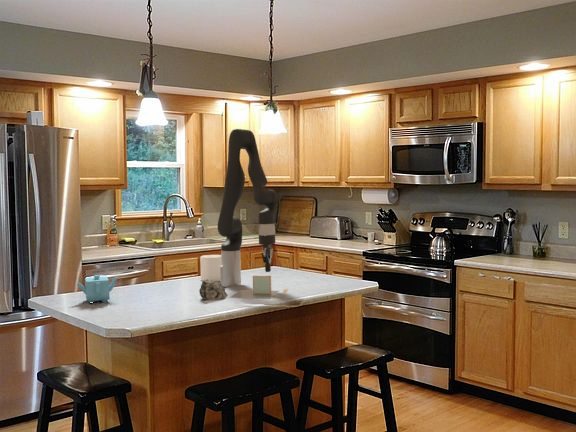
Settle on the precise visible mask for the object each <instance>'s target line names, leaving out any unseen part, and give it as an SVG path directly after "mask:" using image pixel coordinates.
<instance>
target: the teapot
mask: <svg viewBox="0 0 576 432" xmlns="http://www.w3.org/2000/svg"><path fill="white" fill-rule="evenodd" d="M119 278H120V276H115V277H113V278H112V279H111V283H110V280H109V278H108V277H107V276H101V275H99V274H95V275H93V277H85V278H84V285H85V286H84V285H83V284H82V283H80V282H76V286H77V287H78V288H79V289H80V290H81V291H82V292H83V293H84V295H85V299H86V301H87V302H88V303H89V302H94V303H95V301H96V302H98V301H101V303H103V302H105V303H108V301H109V300H110V299H111V297H110V292H112V291H113V289H114V287H115V283H116V281H117V280H118V279H119Z"/></svg>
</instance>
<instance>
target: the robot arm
mask: <svg viewBox="0 0 576 432" xmlns="http://www.w3.org/2000/svg"><path fill="white" fill-rule="evenodd" d="M241 150H245V152H246V153H247V156H248V164H247V174H248V177H249V179H250V181H251V184H252V193H253V199H254V202H255V203H256V204H257V205H258V206H265V207H264V209H263V210H261V211H259V212H258V244H259V245H260V246H261V245H262V252H261V257H262V262H263V263H264V267H265V268H264V270H265V273H270V272H271V271H272V268H271V263H272V261H273V255H274V254H273V253H274V249H273V247H272V245H275V244H276V227H275V213H276V207H277V203H278V194H277V193H276V191H275V190H274V189H263V188H264V187H265V186H267V185H268V178H267V176H266V174H265V171H264V169H263V166H262V163H261V160H260V154H259V150H258V146H257V140H256V136H255V135H254V132H253V131H251V130H249V129H242V128H234V129H232V130H230V133H229V137H228V150H227V151H228V153H227V154H228V155H227V166H226V174H225V181H224V189H223V196H222V202H221V208H220V212H219V216H218V219H217V220H218V221H217V232H218V234H219V236H221V237H224V238H225V237H226V238H225V240H224V242H223V243H222V244H221V246H220V252H221V253H220V255H221V263H222V266H221V267H220V283H221V285H222V286H223V288H224V287H225V288H229V287H231V286H241V285H242V265H241V263H242V261H241V257H242V255H241V253H242V252H241V247H242V243H243V223H242V221H241V219H240V218H239V217H238V216H234V214H235V210H236V206H237V204H238V202H239V201H240V199H241V198H242V196H243V194H244V190H245V183H246V182H245V181H246V175H245V172H244V169H243V166H242V163H241V159H240V158H241Z"/></svg>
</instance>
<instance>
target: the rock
mask: <svg viewBox="0 0 576 432" xmlns="http://www.w3.org/2000/svg"><path fill="white" fill-rule="evenodd" d="M198 291H199V296H200V297H201V298H202V299H204V301H208V300H222V299H224V300H225V299H227V297H228V294H227V292H226V288H224V286H222V285H221V282H219V281H213V280H211V281H209V280H208V279H207V280H206V281H202V283H201V284H200V288H199V290H198Z"/></svg>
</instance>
